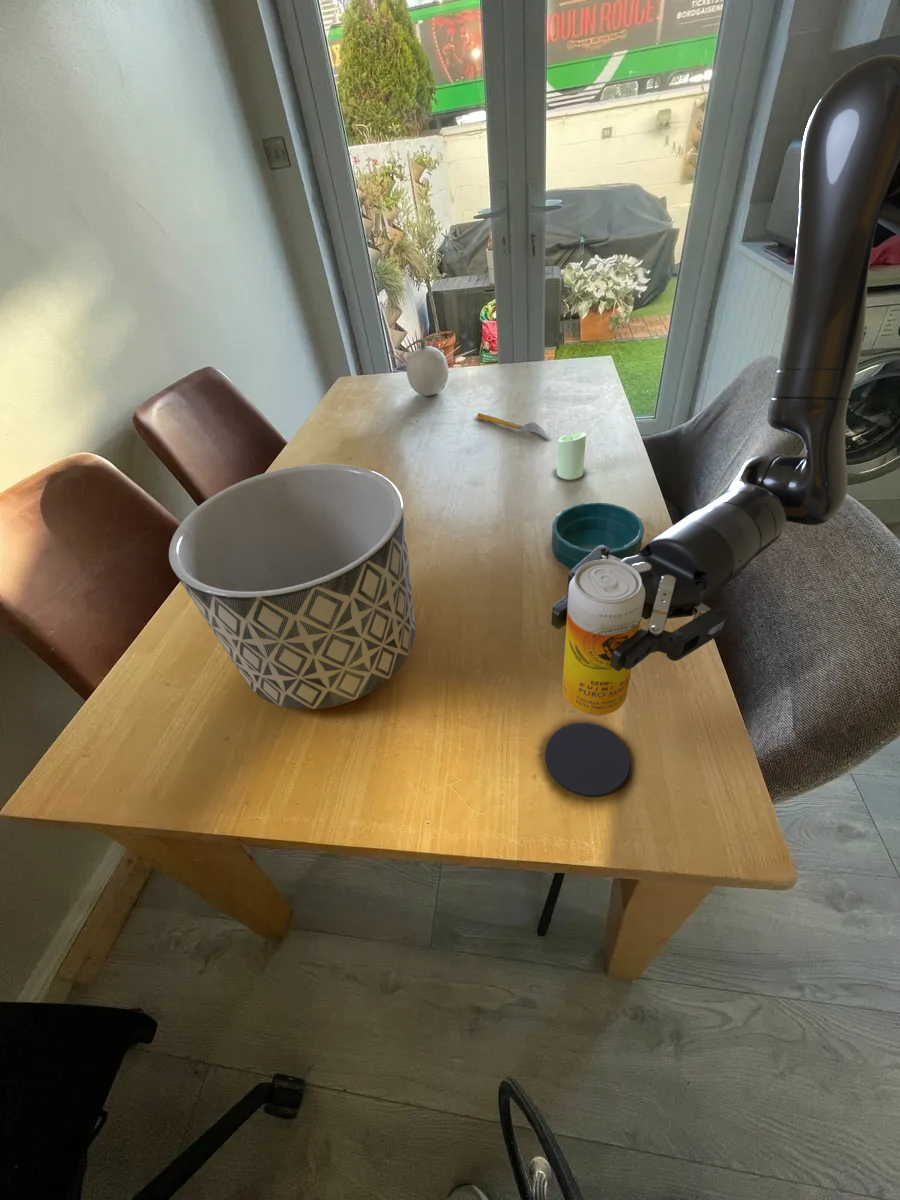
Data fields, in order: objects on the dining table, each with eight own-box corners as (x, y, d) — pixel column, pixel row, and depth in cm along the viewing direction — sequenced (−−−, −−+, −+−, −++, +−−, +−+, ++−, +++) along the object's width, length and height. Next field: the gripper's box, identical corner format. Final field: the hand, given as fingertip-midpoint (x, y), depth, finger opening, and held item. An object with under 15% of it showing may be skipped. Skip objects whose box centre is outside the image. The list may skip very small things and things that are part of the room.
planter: (402, 740, 65) (365, 601, 50) (203, 721, 69) (117, 590, 55) (442, 594, 83) (423, 462, 69) (283, 587, 88) (235, 463, 74)
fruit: (406, 389, 147) (397, 329, 137) (449, 384, 147) (443, 323, 137) (406, 404, 139) (397, 342, 129) (451, 399, 139) (445, 336, 129)
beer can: (578, 727, 52) (589, 613, 42) (552, 680, 56) (557, 566, 46) (637, 710, 53) (662, 593, 43) (607, 664, 57) (623, 549, 47)
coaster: (634, 736, 62) (635, 734, 62) (622, 808, 56) (623, 806, 56) (555, 716, 65) (555, 714, 65) (536, 782, 59) (536, 780, 59)
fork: (474, 413, 128) (545, 431, 116) (478, 409, 128) (550, 426, 117) (476, 422, 130) (546, 441, 118) (481, 418, 130) (551, 436, 119)
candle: (551, 473, 107) (552, 434, 102) (569, 464, 109) (571, 424, 104) (570, 482, 104) (573, 442, 98) (588, 472, 106) (592, 432, 101)
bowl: (644, 531, 90) (648, 508, 87) (633, 583, 81) (637, 559, 78) (562, 520, 95) (563, 498, 92) (542, 568, 86) (543, 545, 83)
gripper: (643, 494, 56) (523, 569, 49) (784, 555, 47) (662, 657, 40) (634, 553, 61) (524, 628, 54) (760, 618, 52) (647, 718, 45)
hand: (583, 640), depth 47 cm, fingers closed on beer can, 6 cm apart
